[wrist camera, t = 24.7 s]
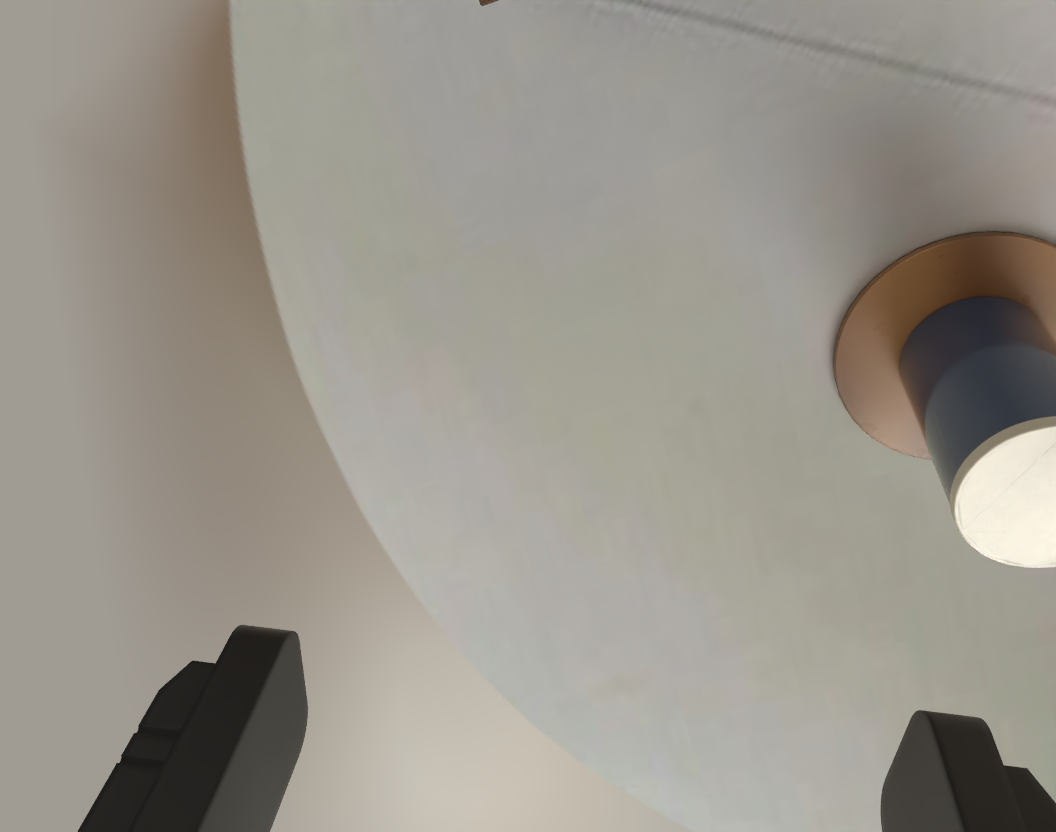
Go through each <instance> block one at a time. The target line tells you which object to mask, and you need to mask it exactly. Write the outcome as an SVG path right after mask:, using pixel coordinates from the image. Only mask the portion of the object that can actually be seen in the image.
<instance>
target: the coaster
mask: <svg viewBox="0 0 1056 832" xmlns="http://www.w3.org/2000/svg"><path fill="white" fill-rule="evenodd" d="M986 296H989V297H1000V298H1005V299H1009V300H1012V301H1015V302H1018V303H1020V304H1022V305H1024V306H1026V307H1027V308H1028V309H1030V310H1031V311H1033V312H1034V313H1035V314H1036V315H1037V316H1038V317H1039V319H1040V320H1041V321H1042V323H1043V324H1044V325H1045V327H1046V328H1047V329H1048V331H1049V332H1050V333H1051V335H1052V336H1053V337H1054V339H1055V340H1056V246H1055V245H1053V244H1051V243H1049V242H1046V241H1044V240H1040V239H1037V238H1034V237H1031V236H1027V235H1021V234H1015V233H1007V232H980V233H970V234H964V235H959V236H953V237H950V238H947V239H943V240H940V241H936V242H934V243H931V244H929V245H926V246H924V247H922V248H919V249H917V250H915V251H913V252H911V253H909V254H908V255H906V256H904V257H902V258H900V259H899V260H897V261H896V262H895V263H893V264H892V265H890V266H889V267H887V268H886V269H885V270H884V271H882V272H881V273H880V274H879V275H878V276H877V277H876V278H874V279H873V280H872V281H871V282H870V283H869V284H868V285H867V287H866V288H865V289H864V290H863V291H862V292H861V293H860V294H859V296H858V297H857V299H856V300H855V302H854V303H853V304H852V306H851V307H850V309H849V311H848V313H847V315H846V317H845V318H844V320H843V322H842V325H841V328H840V331H839V333H838V336H837V341H836V345H835V350H834V374H835V381H836V384H837V388H838V392H839V395H840V397H841V400H842V402H843V404H844V406H845V408H846V410H847V411H848V413H849V414H850V416H851V417H852V419H853V420H854V421H855V422H856V423H857V424H858V425H859V426H860V428H861V429H862V430H864V431H865V432H866V433H867V434H868V435H870V436H871V437H872V438H874V439H875V440H877V441H878V442H880V443H882V444H883V445H885V446H887V447H889V448H892V449H894V450H896V451H898V452H901V453H904V454H908V455H911V456H914V457H919V458H925V459H931V460H932V458H931V456H930V453H929V451H928V448H927V446H926V443H925V441H924V438H923V436H922V433H921V430H920V428H919V425H918V423H917V420H916V418H915V415H914V413H913V410H912V408H911V405H910V403H909V400H908V398H907V395H906V393H905V390H904V388H903V385H902V383H901V379H900V373H899V363H900V357H901V353H902V350H903V347H904V345H905V343H906V341H907V339H908V338H909V336H910V334H911V333H912V332H913V331H914V329H915V328H916V327H917V326H918V325H919V324H920V323H921V322H922V321H923V320H924V319H925V318H927V317H928V316H929V315H930V314H932V313H934V312H935V311H937V310H938V309H940V308H942V307H944V306H946V305H948V304H951V303H954V302H956V301H959V300H963V299H967V298H973V297H986Z"/></svg>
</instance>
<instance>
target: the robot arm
mask: <svg viewBox="0 0 1056 832" xmlns="http://www.w3.org/2000/svg"><path fill="white" fill-rule="evenodd" d="M307 717H308V705H307V696H306V688H305V681H304V673H303V665H302V657H301V650H300V642H299V637H298V634H297V633H296V632H294V631H287V630H280V629H272V628H264V627H255V626H247V625H240V626H238V627H237V628H236V629H235V630H234V631H233V632H232V634H231V636H230V637H229V639H228V642H227V643H226V645H225V647H224V649H223V651H222V653H221V655H220V656H219V658H218V660H217V662H216V664H215V663H207V662H199V661H192V662H190V663H189V664H188V665H187V666H186V667H185V668H183V670H181V671H180V672H179V673H178V674H177V675H176V676H174V677H173V678H172V679H171V680H170V681H169V682H168V683H166V684H165V685H164V686H163V687H162V688H161V689H160V690H159V691H158V693H157V695H156V696H155V698H154V700H153V702H152V703H151V705H150V707H149V708H148V710H147V712H146V714H145V715H144V717H143V719H142V721H141V722H140V724H139V728H138V732H137V733H134V734H133V736H132V738H131V740H130V741H129V743H128V745H127V747H126V748H125V750H124V752H123V754H122V755H121V756H122V758H121V761H120V763H117V764H116V766H115V768H114V769H113V771H112V773H111V775H110V776H109V778H108V780H107V781H106V783H105V785H104V787H103V788H102V790H101V792H100V794H99V795H98V797H97V799H96V800H95V802H94V804H93V806H92V807H91V809H90V811H89V813H88V814H87V816H86V818H85V820H84V822H83V823H82V825H81V827H80V828H79V830H78V832H270V830H271V827H272V825H273V822H274V820H275V817H276V814H277V812H278V809H279V807H280V804H281V801H282V798H283V796H284V794H285V791H286V788H287V786H288V783H289V780H290V778H291V775H292V773H293V770H294V767H295V765H296V762H297V760H298V757H299V754H300V751H301V748H302V745H303V741H304V737H305V732H306V726H307ZM881 824H882V831H883V832H1056V803H1055V802H1054V800H1053V799H1052V798H1051V797H1050V796H1049V794H1048V793H1047V792H1046V791H1045V790H1044V788H1043V787H1042V786H1041V785H1040V783H1039V782H1038V781H1037V780H1036V779H1035V777H1034V776H1033V775H1032V774H1031V773H1030V771H1029V770H1028V769H1027V768H1020V767H1012V766H1004V765H1003V763H1002V760H1001V757H1000V755H999V752H998V749H997V747H996V744H995V741H994V738H993V736H992V733H991V731H990V729H989V727H988V725H987V724H986V723H985V721H984V720H982V719H981V718H978V717H970V716H962V715H954V714H946V713H938V712H930V711H921V710H919V711H916V712H915V713H914V714H913V716H912V718H911V720H910V722H909V724H908V727H907V729H906V731H905V734H904V736H903V739H902V741H901V743H900V746H899V748H898V750H897V753H896V755H895V757H894V760H893V762H892V765H891V767H890V769H889V772H888V774H887V776H886V779H885V782H884V785H883V789H882V795H881Z"/></svg>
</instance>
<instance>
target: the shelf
mask: <svg viewBox="0 0 1056 832" xmlns="http://www.w3.org/2000/svg"><path fill="white" fill-rule="evenodd" d="M495 1H498V0H479V2H480V4H481V6H484V5H487V4H490V3H492V2H495Z"/></svg>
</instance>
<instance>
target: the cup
mask: <svg viewBox="0 0 1056 832" xmlns="http://www.w3.org/2000/svg"><path fill="white" fill-rule="evenodd" d="M899 373H900V379H901V383H902V385H903V388H904V390H905V393H906V395H907V398H908V400H909V403H910V405H911V408H912V410H913V413H914V415H915V418H916V420H917V423H918V425H919V428H920V430H921V433H922V436H923V438H924V441H925V443H926V446H927V448H928V451H929V453H930V456H931V458H932V461H933V463H934V466H935V468H936V471H937V473H938V476H939V478H940V481H941V483H942V486H943V489H944V491H945V494H946V496H947V499H948V501H949V504H950V507H951V512H952V515H953V518H954V520H955V523H956V525H957V528H958V530H959V532H960V534H961V535H962V537H963V538H964V539H965V540H966V542H967V543H968V544H969V545H970V546H971V547H973V548H974V549H975V550H976V551H978V552H979V553H981V554H982V555H984V556H986V557H988V558H990V559H992V560H994V561H997V562H1000V563H1003V564H1007V565H1012V566H1017V567H1026V568H1045V567H1055V566H1056V340H1055V339H1054V337H1053V336H1052V335H1051V333H1050V332H1049V331H1048V329H1047V328H1046V327H1045V325H1044V324H1043V323H1042V321H1041V320H1040V319H1039V317H1038V316H1037V315H1036V314H1035V313H1034V312H1033V311H1031V310H1030V309H1028V308H1027V307H1026V306H1024V305H1022V304H1020V303H1018V302H1015V301H1012V300H1009V299H1005V298H1000V297H989V296H986V297H973V298H967V299H963V300H959V301H956V302H954V303H951V304H948V305H946V306H944V307H942V308H940V309H938V310H937V311H935V312H934V313H932V314H930V315H929V316H928V317H927V318H925V319H924V320H923V321H922V322H921V323H920V324H919V325H918V326H917V327H916V328H915V329H914V331H913V332H912V333H911V334H910V336H909V338H908V339H907V341H906V343H905V345H904V347H903V350H902V353H901V357H900V363H899Z"/></svg>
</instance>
